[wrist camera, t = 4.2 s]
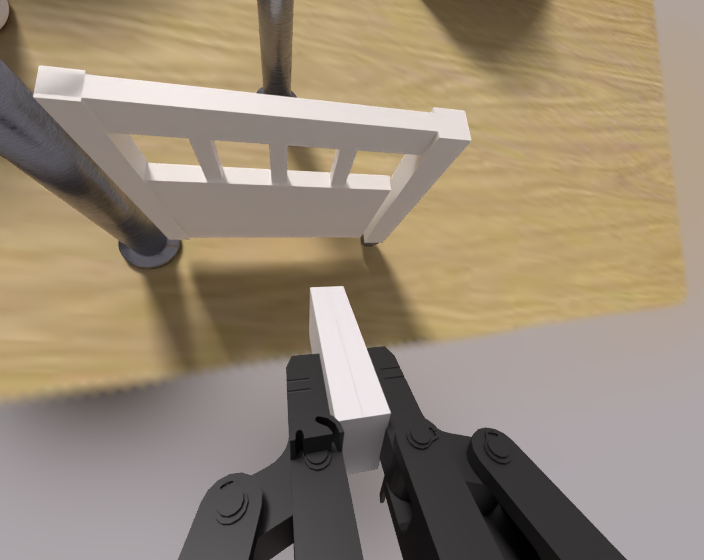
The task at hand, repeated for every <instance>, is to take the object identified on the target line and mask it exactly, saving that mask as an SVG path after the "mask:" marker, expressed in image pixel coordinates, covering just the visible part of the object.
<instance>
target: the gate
mask: <svg viewBox="0 0 704 560" xmlns="http://www.w3.org/2000/svg"><path fill="white" fill-rule="evenodd" d="M33 98H34V99H35V100H36V101H37V102H38V103H39V104H40V105H41V106H42V107H43V108H44V109H45V110H46V111H47V112H48V113H49V114H50V115H51V117H52V118H53V119H54V120H55V121H56V122H57V123H58V124H59V125H60V126H61V127H62V128H63V129H64V130H65V131H66V132H67V133H68V134H69V135H70V136H71V137H72V138H73V140H74V141H75V142H76V143H77V144H78V145H79V146H80V147H81V148H82V149H83V150H84V151H85V152H86V153H87V154H88V155H89V156H90V157H91V158H92V159H93V160H94V161H95V163H96V164H97V165H98V166H99V167H100V168H101V169H102V170H103V171H104V172H105V173H106V174H107V175H108V176H109V177H110V178H111V179H112V180H113V181H114V182H115V183H116V184H117V186H118V187H119V188H120V189H121V190H122V191H123V192H124V193H125V194H126V195H127V196H128V197H129V198H130V199H131V200H132V201H133V202H134V203H135V204H136V205H137V206H138V207H139V209H140V210H141V211H142V212H143V213H144V214H145V215H146V216H147V217H148V218H149V219H150V220H151V221H152V222H153V223H154V224H155V225H156V226H157V227H158V228H159V229H160V230H161V232H162V233H163V234H164V235H165V236H166V237H167V238H168V239H169V240H189V238H234V237H361V244H362V245H364V246H373V245H376V244H378V243H383V242H384V240H385V239H386V238H387V237H388V236H389V235H390V234H391V232H392V231H393V230H394V229H395V228H396V227H397V226H398V224H399V223H400V222H401V221H402V220H403V219H404V217H405V216H406V215H407V214H408V213H409V212H410V211H411V209H412V208H413V207H414V206H415V205H416V204H417V203H418V201H419V200H420V199H421V198H422V197H423V196H424V194H425V193H426V192H427V191H428V190H429V189H430V188H431V186H432V185H433V184H434V183H435V182H436V181H437V180H438V178H439V177H440V176H441V175H442V174H443V173H444V172H445V170H446V169H447V168H448V167H449V166H450V165H451V163H452V162H453V161H454V160H455V159H456V158H457V157H458V155H459V154H460V153H461V152H462V151H463V150H464V149H465V147H466V146H467V145H468V144H469V143H470V142H471V136H470V132H469V127H468V123H467V118H466V114H465V111H462V110H453V109H445V108H436V107H433V109H432V111H431V112H430V113H429V112H420V111H411V110H402V109H393V108H384V107H375V106H366V105H357V104H348V103H339V102H330V101H321V100H312V99H303V98H294V97H285V96H276V95H267V94H258V93H249V92H240V91H231V90H222V89H213V88H204V87H195V86H186V85H177V84H168V83H159V82H150V81H141V80H132V79H123V78H114V77H105V76H96V75H88V74H87V72H86V71H85V70H77V69H68V68H59V67H51V66H42V65H39V69H38V74H37V79H36V84H35V89H34V94H33ZM129 134H136V135H150V136H164V137H177V138H189V140H190V143H191V145H192V147H193V150H194V152H195V154H196V157H197V159H198V161H199V164H200V166H196V165H177V164H158V163H148V161H147V160H146V158H145V157H144V155H143V154H142V152H141V151H140V149H139V148H138V147H137V145H136V144H135V142H134V141H133V139H132V138H131V136H130V135H129ZM214 140H219V141H233V142H246V143H260V144H269V149H270V166H271V169H253V168H234V167H222V164H221V160H220V157H219V154H218V151H217V148H216V144H215V141H214ZM288 146H302V147H316V148H329V149H336V153H335V157H334V161H333V165H332V169H331V172H330V173H329V172H310V171H291V170H287V159H288ZM357 151H371V152H385V153H398V154H405V155H404V157H403V159H402V160H401V162H400V164H399V165H398V167H397V169H396V170H395V172H394V174H393V175H392V177H391V179H390V177H389V176H386V175H367V174H349V172H350V169H351V167H352V164H353V161H354V158H355V156H356V153H357Z"/></svg>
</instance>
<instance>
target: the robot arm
mask: <svg viewBox="0 0 704 560" xmlns="http://www.w3.org/2000/svg"><path fill="white" fill-rule="evenodd" d="M309 337H310V343H311V350H312V354H309V355H298V356H292V357H291V359H290V361H289V363H288V365H287V367H286V373H287V400H288V423H289V441H288V444H287V447H286V449H285V451H284V452H283V454H282V455H281V456H280V457H279V458H278V459H277V460H276V462H274V463H273V464H271V465H270V466H268V467H266V468H265V469H263V470H261V471H259V472H257V473H255V474H254V475H248V474H244V473H235V474H229V475H228V476H226V477H224V478H222V479H220V480H218V481H217V482H216V483H215V484H214V485H213V486H212V487H211V488H210V489H209V490H208V491H207V493H206V495H205V496H204V498H203V500H202V502H201V504H200V506H199V509H198V511H197V514H196V516H195V519H194V521H193V523H192V526H191V528H190V531H189V534H188V536H187V539H186V541H185V543H184V546H183V548H182V551H181V554H180V556H179V559H178V560H270V559H271V558H273V557H274V556H276V555H277V554H278V553H280V552H281V551H283V550H284V549H285V548H287V547H288V546H290V545H291V544H293V543H294V560H363V555H362V549H361V544H360V539H359V535H358V530H357V524H356V519H355V514H354V509H353V504H352V499H351V494H350V489H349V484H348V478H347V475H349V474H354V473H359V472H364V471H369V470H375V469H378V466H379V461H381V464H382V468H383V471H384V475H385V476H384V480H383V483H382V487H381V491H380V503H383V502H384V500H385V497H386V499H387V503H388V507H389V511H390V514H391V518H392V521H393V525H394V528H395V532H396V535H397V539H398V543H399V546H400V550H401V553H402V557H403V560H627V559H626V558H625V557H624V556H623V555H622V554H621V553H620V552H619V551H618V550H617V549H616V548H615V547H614V546H613V545H612V544H611V543H610V542H609V541H608V540H607V538H606V537H604V535H603V534H602V533H601V532H600V531H599V530H598V529H597V528H596V527H595V526H594V525H593V524H592V523H591V522H590V521H589V520H588V519H587V518H586V517H585V516H584V515H583V514H582V512H581V511H580V510H579V509H578V508H577V507H576V506H575V505H574V504H573V503H572V502H571V501H570V500H569V499H568V498H567V497H566V496H565V495H564V494H563V493H562V492H561V491H560V489H559V488H558V487H557V486H556V485H555V484H554V483H553V482H552V481H551V480H550V479H549V478H548V477H547V476H546V475H545V474H544V473H543V472H542V471H541V470H540V469H539V468H538V467H537V466H536V465H535V463H533V461H532V460H530V458H529V457H528V456H527V455H526V454H525V453H524V452H523V451H522V450H521V449H520V448H519V447H518V446H517V445H516V444H515V443H514V442H513V441H512V440H511V439H510V438H509V437H508V436H506V435H505V434H504V433H502V432H500V431H497V430H496V429H491V428H481V429H478V430H477V431H476V432H475V433H474V434H473V436H472V437H468V436H463V435H457V434H451V433H447V432H443V431H441V430H439V429H437V427H436V426H435V425H434V424H433V423H431V422H430V421H429V420H427V419H425V417H424V416H423V414H422V412H421V411H420V409H419V407H418V404H417V402H416V400H415V398H414V396H413V394H412V392H411V389H410V387H409V385H408V383H407V381H406V379H405V378H404V375H403V373H402V371H401V369H400V366H399V364H398V362H397V360H396V358H395V356H394V355H393V354H392V353H391V352H390V351H389V350H388V349H387V348H386V347H385V346H384V347H373V348H366V346H365V343H364V340H363V338H362V335H361V332H360V330H359V327H358V324H357V322H356V319H355V316H354V314H353V311H352V308H351V306H350V303H349V300H348V298H347V295H346V292H345V290H344V287H343V286H333V287H310V319H309Z"/></svg>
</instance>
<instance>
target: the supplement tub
mask: <svg viewBox="0 0 704 560" xmlns="http://www.w3.org/2000/svg"><path fill="white" fill-rule="evenodd" d="M8 15H9V5H8V1H7V0H0V29H1V28H2V27H3V26H4V24H5V23H6V21H7V19H8Z"/></svg>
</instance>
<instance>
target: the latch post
mask: <svg viewBox="0 0 704 560" xmlns="http://www.w3.org/2000/svg"><path fill="white" fill-rule="evenodd" d="M293 3H294V0H257V5H258V19H259V33H260V47H261V62H262V76H263V87H262V88H261V89H259V91H258V92H257V93H258V94H267V95H276V96H285V97H294V98H297V97H296V95H295V94H294V93H293V92H292V91H291V67H292V35H293Z"/></svg>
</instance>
